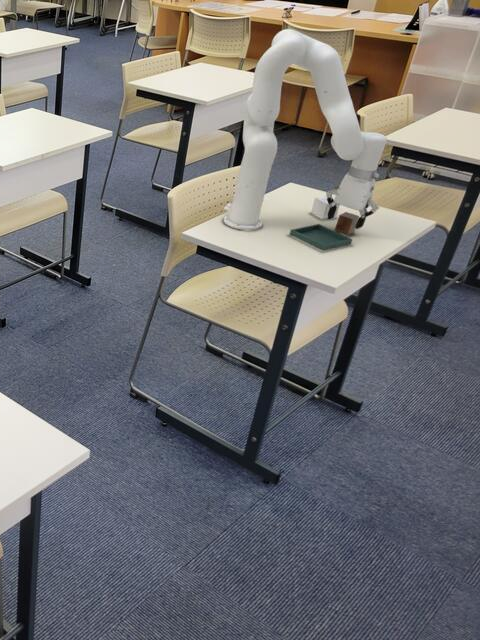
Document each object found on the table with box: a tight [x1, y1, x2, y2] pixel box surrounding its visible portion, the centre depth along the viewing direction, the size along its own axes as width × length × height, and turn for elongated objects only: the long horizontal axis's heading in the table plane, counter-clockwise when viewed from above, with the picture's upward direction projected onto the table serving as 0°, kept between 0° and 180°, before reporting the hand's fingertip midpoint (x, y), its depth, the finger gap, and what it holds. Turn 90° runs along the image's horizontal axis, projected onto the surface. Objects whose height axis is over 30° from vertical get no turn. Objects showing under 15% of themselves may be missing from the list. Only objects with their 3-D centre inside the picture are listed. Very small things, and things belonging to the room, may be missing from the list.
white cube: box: [310, 196, 341, 220], centre depth 245 cm, size 6×6×6 cm
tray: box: [289, 223, 353, 252], centre depth 227 cm, size 14×13×2 cm
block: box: [334, 211, 360, 237], centre depth 232 cm, size 5×5×6 cm
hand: (343, 223), depth 232 cm, fingers open, 9 cm apart
